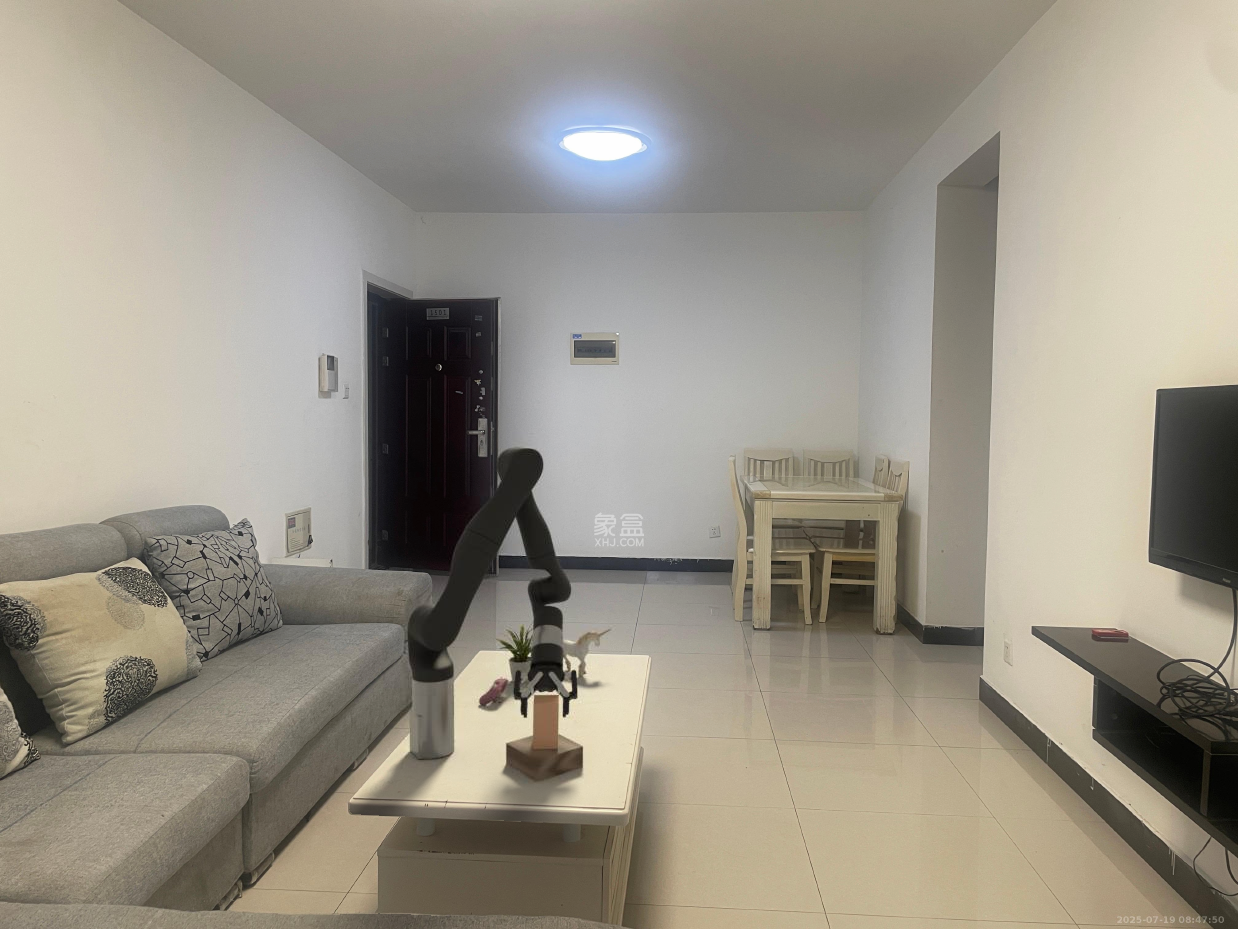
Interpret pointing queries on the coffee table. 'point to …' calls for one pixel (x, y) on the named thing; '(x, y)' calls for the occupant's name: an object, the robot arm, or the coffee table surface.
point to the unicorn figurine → (580, 648)
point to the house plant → (521, 659)
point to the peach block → (545, 721)
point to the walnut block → (544, 758)
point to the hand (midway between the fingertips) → (544, 716)
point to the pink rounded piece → (494, 691)
